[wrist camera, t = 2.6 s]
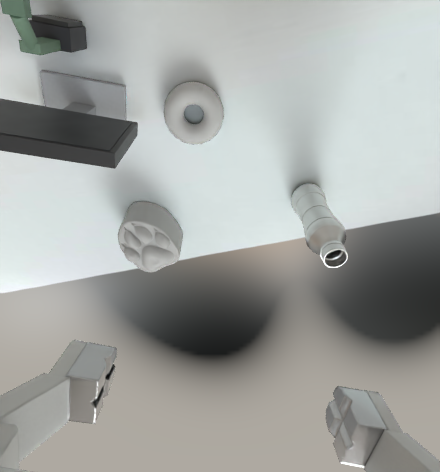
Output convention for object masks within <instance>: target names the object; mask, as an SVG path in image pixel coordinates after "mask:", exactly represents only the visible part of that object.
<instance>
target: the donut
mask: <svg viewBox="0 0 440 472" xmlns="http://www.w3.org/2000/svg"><path fill="white" fill-rule="evenodd" d="M191 104H195V105H198V106H199V107H201V109H202V110H203V112H204V117H203V120H202V121H201V122H200V123H198V124H190V123H189V122H187V120H186V119H185V117H184V110H185V108H186V107H187V106H189V105H191ZM164 117H165V123H166V125H167V127H168V129H169V131H170V132H171V133H172V134H173V135H174V136H175V137H176V138H177V139H179V140H181V141H182V142H184V143H188V144H192V145H194V144H203V143H205V142H207V141H210V140H211V139H212V138H213V137H214V136H216V135H217V133H218V131H219V130H220V128H221V126H222V122H223V118H224V114H223V106H222V103H221V101H220V98H219V97H218V95H217V94H216V93H215V92H214V90H213V89H211V88H210V87H208V86H207V85H205V84H202V83H198V82H185V83H183V84H181V85H178V86H176V87H175V88H174V89H173V90H172V91H171V92H170V93H169V95H168V97H167V99H166V101H165V106H164Z"/></svg>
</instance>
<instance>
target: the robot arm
mask: <svg viewBox="0 0 440 472" xmlns="http://www.w3.org/2000/svg"><path fill="white" fill-rule="evenodd" d="M116 355H117V348H115V347H110V346H105V345H100V344H95V343H90V342H84V341H79V340H73V341H72V342H71V343H70V344H69V345H68V347H67V348H66V350H65V351H64V352H63V354H62V355H61V357H60V358H59V360H58V361H57V362H56V364H55V365H54V366H53V368H52V369H51V371H50V372H49V373H48V374H47V373H43V374H41V375H39V376H38V377H35V378H33V379H32V380H30V381H28V382H26V383H24V384H22V385H20V386H18V387H16V388H14V389H13V390H10V391H8V392H7V393H5V394H3V395H1V396H0V472H32V471H26V470H19V462H20V461H21V460H23V459H24V458H25V457H26V456H27V455H29V454H30V453H31V452H32V451H34V450H35V449H36V448H37V447H38V446H39V445H41V444H42V443H43V442H44V441H46V440H47V439H48V438H49V437H50V436H52V435H53V434H54V433H55V432H57V431H58V430H59V429H60V428H61V427H63V426H64V425H65V424H66V423H67V422H68V421H74V422H82V423H90V424H95V422H96V420H97V417H98V415H99V413H100V410H101V408H102V405H103V398H104V397H105V396H107V395H108V392H109V390H110V387H111V384H112V381H113V377H114V372H115V366H114V364H113V363H114V361H115V358H116ZM333 395H334V398H335V399H334V400H333V401H331V402H329V404H328V407H327V409H326V423H327V427H328V430H329V432H330V433H331V434H332V435H333V436H334V437H335V440H334V443H333V445H334V447H335V450H336V453H337V456H338V459H339V462H340V463H342V464H347V465H353V466H358V467H363V468H364V470H365V471H366V472H440V461H439V460H438V459H437V458H436V457H434V456H433V455H432V454H431V453H430V452H429V451H427V450H426V449H425V448H424V447H423V446H422V445H420V444H419V443H418V442H417V441H416V440H414V439H413V438H412V437H411V436H410V435H409V434H407V433H403V431H402V430H401V428H400V426H399V425H398V423H397V421H396V420H395V418H394V416H393V414H392V413H391V411H390V409H389V408H388V406H387V404H386V403H385V401H384V399H383V397H382V396H381V395H380V394H379V393H378V392H373V391H367V390H359V389H353V388H347V387H341V386H338V387H336V388H335V390H334V392H333Z"/></svg>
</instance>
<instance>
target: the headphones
mask: <svg viewBox="0 0 440 472" xmlns="http://www.w3.org/2000/svg"><path fill="white" fill-rule="evenodd" d="M0 1H1V7H2V12H3V14H8V15H10V17H11V19H12V21H13V23H14V25H15V27H16V29H17V31H18V33H19V35H20V37H21V39H22V40H19V44H20V50H21V52H26V53H31V54H37V55H44V54H48V53H52V52H57V51H66V52H71V53H72V52H75V51H79V50H83V49H86V48H87V45H86V31H85V27H84V26H82V21H77V20H72V19H67V18H62V17H57V16H52V15H32V14H31V7H30V1H29V0H0ZM28 18H32V20H28Z"/></svg>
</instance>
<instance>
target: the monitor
mask: <svg viewBox="0 0 440 472" xmlns="http://www.w3.org/2000/svg"><path fill="white" fill-rule="evenodd" d="M40 77H41V83H42V90H43V96H44V103H45V106H40V105H34V104H28V103H22V102H17V101H11V100H5V99H0V150H1V151H7V152H13V153H20V154H26V155H33V156H39V157H45V158H52V159H58V160H64V161H71V162H77V163H83V164H90V165H96V166H102V167H109V168H116V166H117V165H118V163H119V162H120V160H121V159H122V157H123V156H124V154H125V153H126V151H127V150H128V148H129V147H130V145H131V144H132V142H133V141H134V139H135V138H136V136H137V127H138V123H137V122H132V121H126V85H121V84H115V83H110V82H104V81H99V80H94V79H88V78H83V77H78V76H72V75H67V74H61V73H56V72H51V71H45V70H42V71H40Z"/></svg>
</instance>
